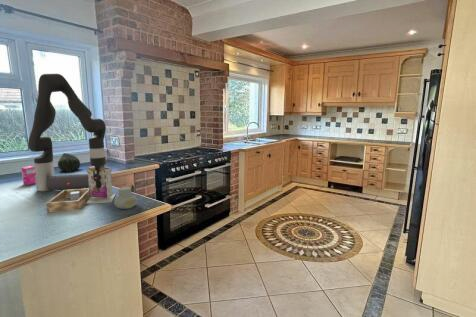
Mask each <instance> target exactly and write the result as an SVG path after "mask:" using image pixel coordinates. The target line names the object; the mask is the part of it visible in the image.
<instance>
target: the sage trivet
mask: <svg viewBox="0 0 476 317" xmlns="http://www.w3.org/2000/svg"><path fill="white" fill-rule="evenodd" d="M115 195H116V193H113V196H111V197H109V198H101V197H90V199H89V200H88V201H87V202H86V205H91V204H92V205H93V204H103V203H104V204H107V203H112V202H113V200H115V197H116V196H115Z"/></svg>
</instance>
